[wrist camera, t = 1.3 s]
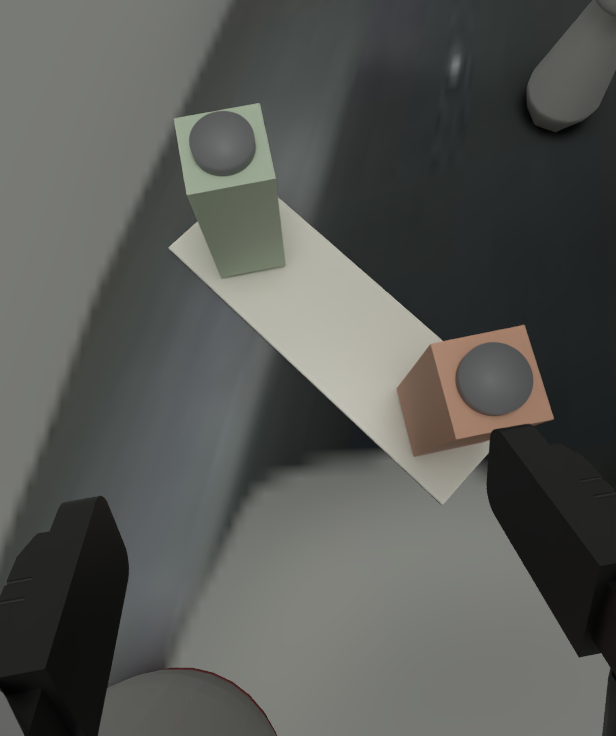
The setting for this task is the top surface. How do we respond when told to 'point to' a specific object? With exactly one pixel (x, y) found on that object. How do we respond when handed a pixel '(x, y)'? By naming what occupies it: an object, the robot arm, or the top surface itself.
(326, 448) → the top surface
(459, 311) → the top surface
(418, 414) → the light brown tall block
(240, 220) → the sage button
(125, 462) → the top surface
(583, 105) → the salt shaker
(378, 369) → the button board
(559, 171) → the top surface
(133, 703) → the red roofed toy house
